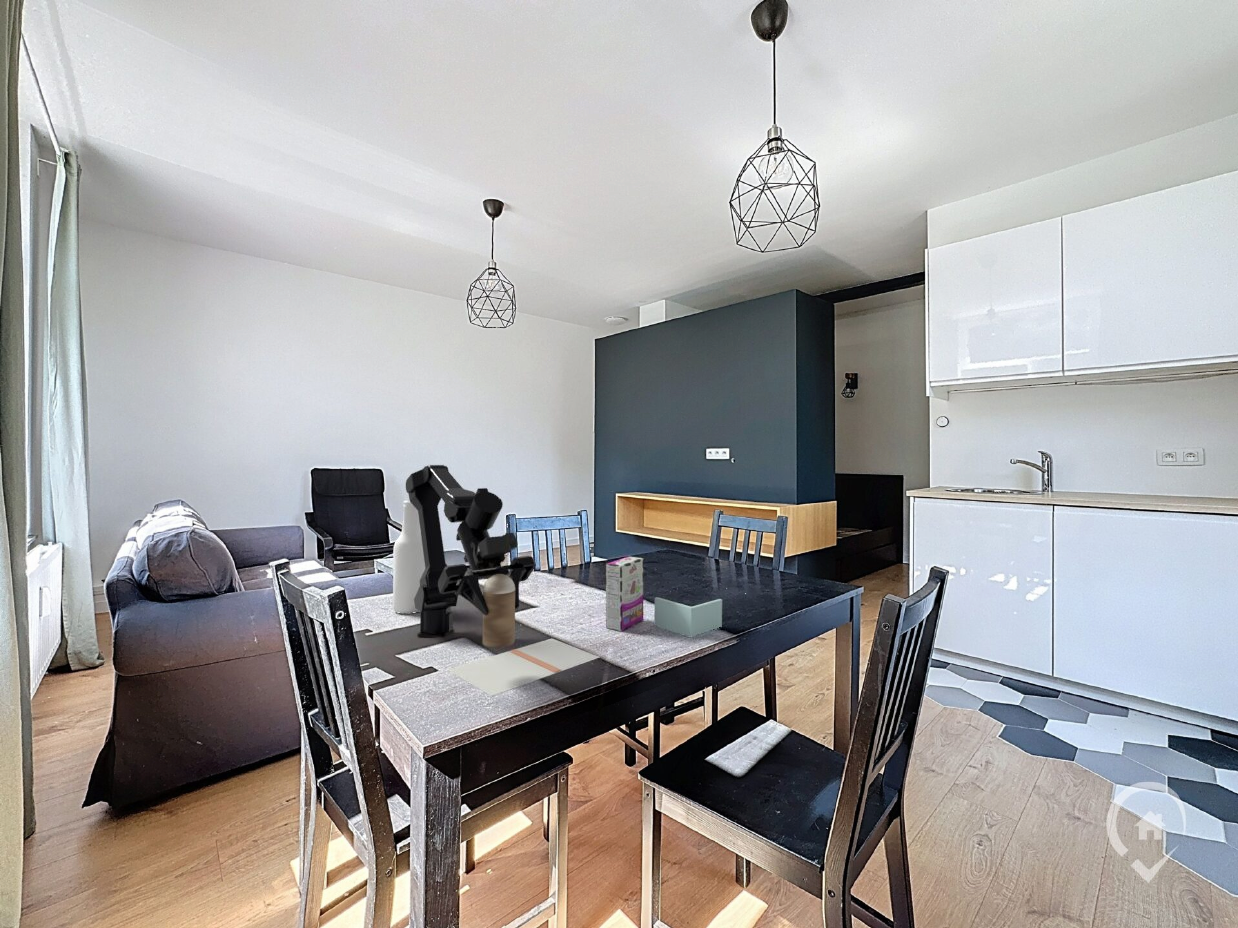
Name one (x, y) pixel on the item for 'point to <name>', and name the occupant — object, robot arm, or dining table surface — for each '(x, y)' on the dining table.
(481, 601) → the robot arm
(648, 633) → the dining table surface
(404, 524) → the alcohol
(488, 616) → the walnut pin
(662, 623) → the right angle wall
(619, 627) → the candy bar box
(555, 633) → the dining table surface
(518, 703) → the dining table surface
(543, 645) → the mat
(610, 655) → the dining table surface
